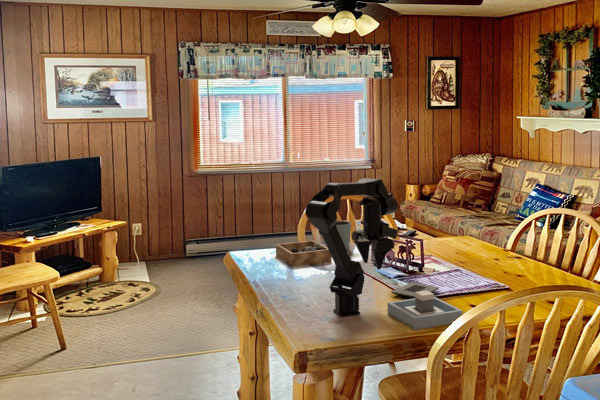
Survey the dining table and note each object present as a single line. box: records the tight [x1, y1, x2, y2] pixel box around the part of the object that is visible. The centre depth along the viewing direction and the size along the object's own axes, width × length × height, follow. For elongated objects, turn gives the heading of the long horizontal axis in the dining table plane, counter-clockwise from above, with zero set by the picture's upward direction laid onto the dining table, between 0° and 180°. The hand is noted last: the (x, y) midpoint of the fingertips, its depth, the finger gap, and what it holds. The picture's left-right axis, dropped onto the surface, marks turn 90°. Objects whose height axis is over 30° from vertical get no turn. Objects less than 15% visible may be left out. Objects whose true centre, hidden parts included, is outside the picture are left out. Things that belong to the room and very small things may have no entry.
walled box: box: [387, 296, 464, 331], centre depth 202 cm, size 16×16×4 cm
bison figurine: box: [290, 242, 323, 253], centre depth 275 cm, size 12×7×10 cm
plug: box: [414, 291, 435, 313], centre depth 202 cm, size 4×4×7 cm
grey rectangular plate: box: [391, 282, 440, 299], centre depth 226 cm, size 13×10×2 cm
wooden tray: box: [275, 240, 333, 267], centre depth 277 cm, size 17×19×5 cm
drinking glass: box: [336, 220, 352, 252], centre depth 291 cm, size 10×10×12 cm
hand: (372, 266), depth 216 cm, fingers open, 9 cm apart
